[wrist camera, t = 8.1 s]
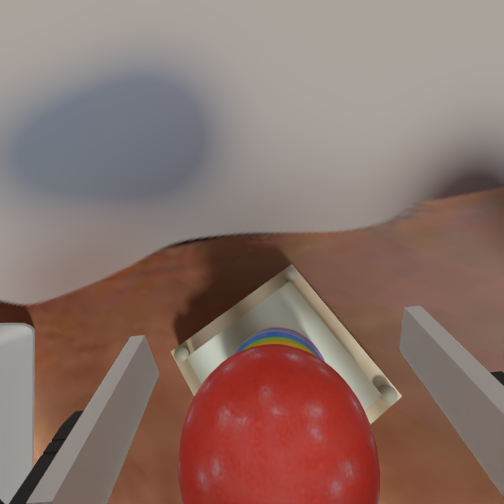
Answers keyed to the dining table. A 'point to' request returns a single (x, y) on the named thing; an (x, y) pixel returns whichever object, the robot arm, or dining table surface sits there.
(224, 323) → the plinth
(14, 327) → the tank
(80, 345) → the dining table surface
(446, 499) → the dining table surface
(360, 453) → the stacking toy
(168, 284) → the dining table surface
